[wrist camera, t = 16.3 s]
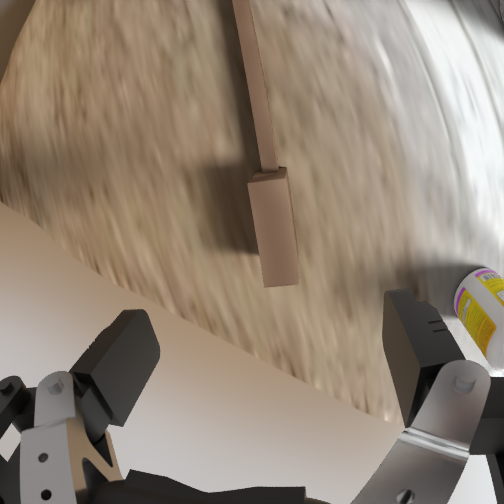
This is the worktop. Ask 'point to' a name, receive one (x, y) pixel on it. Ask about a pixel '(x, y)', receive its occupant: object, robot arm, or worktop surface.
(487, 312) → the supplement bottle
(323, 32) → the worktop surface
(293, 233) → the walnut push stick
